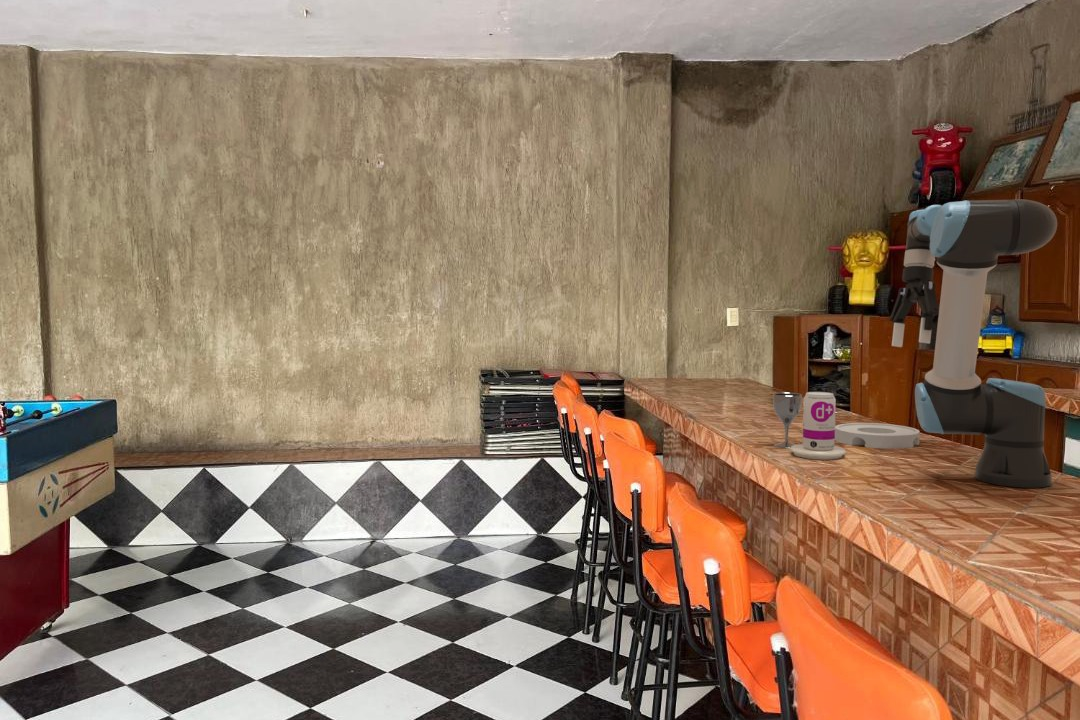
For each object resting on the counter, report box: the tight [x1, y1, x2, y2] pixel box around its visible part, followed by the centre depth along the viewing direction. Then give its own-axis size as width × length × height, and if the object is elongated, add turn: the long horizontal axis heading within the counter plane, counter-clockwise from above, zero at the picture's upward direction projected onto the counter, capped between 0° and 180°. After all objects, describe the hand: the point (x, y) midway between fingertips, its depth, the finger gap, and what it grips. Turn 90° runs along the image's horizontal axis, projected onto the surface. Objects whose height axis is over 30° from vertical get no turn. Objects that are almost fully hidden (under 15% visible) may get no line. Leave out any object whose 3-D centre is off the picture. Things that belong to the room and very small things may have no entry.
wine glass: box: [772, 391, 803, 449], centre depth 227 cm, size 8×8×15 cm
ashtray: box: [835, 422, 921, 450], centre depth 234 cm, size 23×23×4 cm
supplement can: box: [802, 391, 837, 451], centre depth 213 cm, size 8×8×15 cm
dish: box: [790, 443, 846, 461], centre depth 214 cm, size 14×14×2 cm
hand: (910, 344), depth 215 cm, fingers open, 13 cm apart
